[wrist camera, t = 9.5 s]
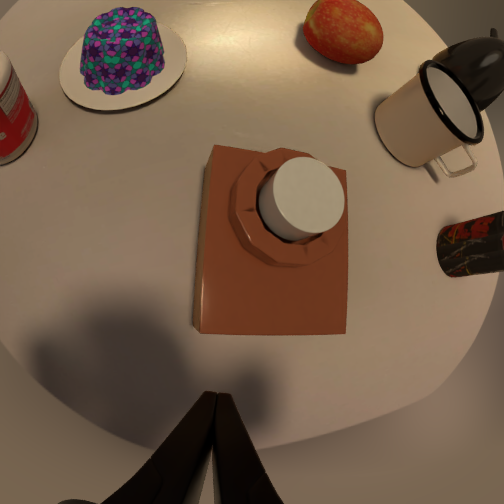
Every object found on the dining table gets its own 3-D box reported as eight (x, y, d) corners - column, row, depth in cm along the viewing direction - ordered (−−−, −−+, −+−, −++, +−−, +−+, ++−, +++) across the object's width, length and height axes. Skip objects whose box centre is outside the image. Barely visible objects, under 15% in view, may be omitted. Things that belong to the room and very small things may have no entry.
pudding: (45, 117, 20) (27, 83, 15) (81, 26, 22) (76, -9, 17) (179, 117, 24) (185, 79, 19) (192, 26, 25) (200, -10, 20)
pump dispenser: (455, 87, 38) (517, 47, 23) (466, 136, 36) (541, 97, 21) (412, 55, 35) (475, 2, 21) (421, 103, 33) (502, 49, 19)
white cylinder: (323, 244, 19) (345, 237, 17) (256, 236, 18) (271, 227, 16) (323, 179, 20) (343, 165, 18) (259, 166, 19) (274, 149, 16)
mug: (354, 117, 29) (409, 72, 20) (391, 89, 32) (438, 51, 23) (423, 206, 30) (487, 184, 21) (448, 164, 33) (501, 141, 24)
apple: (302, 18, 30) (330, -25, 22) (361, 50, 31) (396, 13, 24) (287, 52, 28) (319, 2, 20) (354, 88, 30) (396, 48, 22)
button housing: (317, 328, 25) (360, 336, 19) (192, 326, 22) (203, 337, 16) (320, 187, 26) (359, 161, 21) (204, 168, 24) (219, 131, 18)
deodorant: (445, 285, 30) (562, 273, 15) (430, 235, 30) (548, 204, 15) (469, 265, 31) (571, 248, 17) (455, 220, 32) (558, 189, 17)
